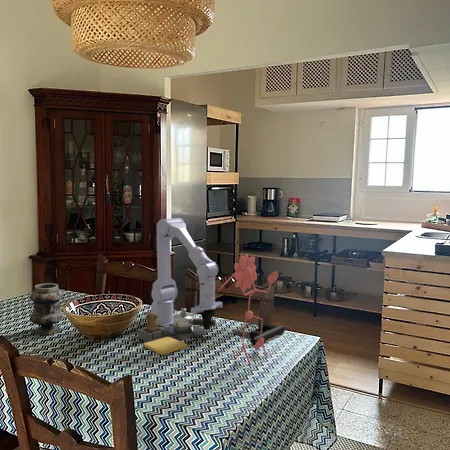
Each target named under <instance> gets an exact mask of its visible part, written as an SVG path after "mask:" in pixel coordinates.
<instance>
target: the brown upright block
mask: <svg viewBox="0 0 450 450" xmlns="http://www.w3.org/2000/svg"><path fill="white" fill-rule="evenodd" d="M145 315H146V327H147V332H149V333H152V332H155V331H157V326H158V325H157V318H158V316H157V313H151V311H150V312H149V311H146V313H145Z"/></svg>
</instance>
